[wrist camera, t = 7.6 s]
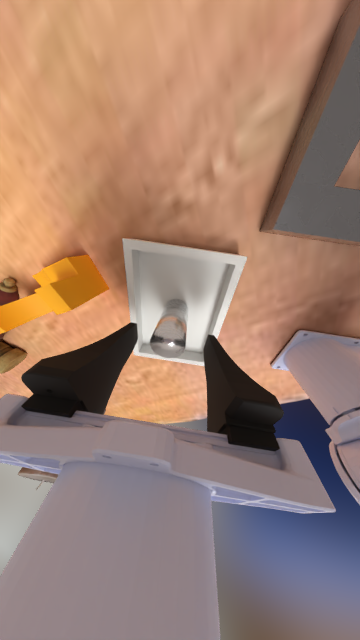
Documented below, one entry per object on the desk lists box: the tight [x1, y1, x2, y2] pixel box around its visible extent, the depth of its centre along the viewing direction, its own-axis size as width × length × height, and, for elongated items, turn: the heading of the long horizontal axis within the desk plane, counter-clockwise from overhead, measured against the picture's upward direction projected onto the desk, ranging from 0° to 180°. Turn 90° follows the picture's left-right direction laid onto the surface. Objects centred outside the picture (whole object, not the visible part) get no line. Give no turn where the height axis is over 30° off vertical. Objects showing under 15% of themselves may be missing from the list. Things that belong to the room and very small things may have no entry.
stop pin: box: [150, 299, 188, 358], centre depth 14 cm, size 3×3×7 cm
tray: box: [122, 238, 247, 366], centre depth 17 cm, size 12×16×2 cm
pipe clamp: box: [0, 255, 109, 334], centre depth 15 cm, size 12×4×6 cm, turn 109°
